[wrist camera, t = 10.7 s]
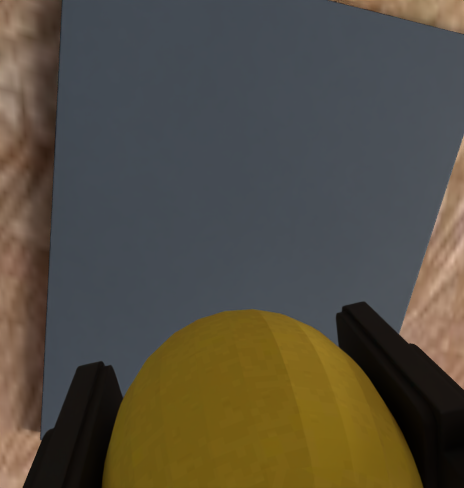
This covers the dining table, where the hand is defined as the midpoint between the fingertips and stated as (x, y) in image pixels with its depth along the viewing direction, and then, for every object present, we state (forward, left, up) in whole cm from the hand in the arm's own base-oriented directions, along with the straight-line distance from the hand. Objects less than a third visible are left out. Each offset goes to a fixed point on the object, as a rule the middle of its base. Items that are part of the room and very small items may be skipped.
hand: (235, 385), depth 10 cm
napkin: (+1, +1, -8) cm, 8 cm away
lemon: (0, 0, -2) cm, 2 cm away
